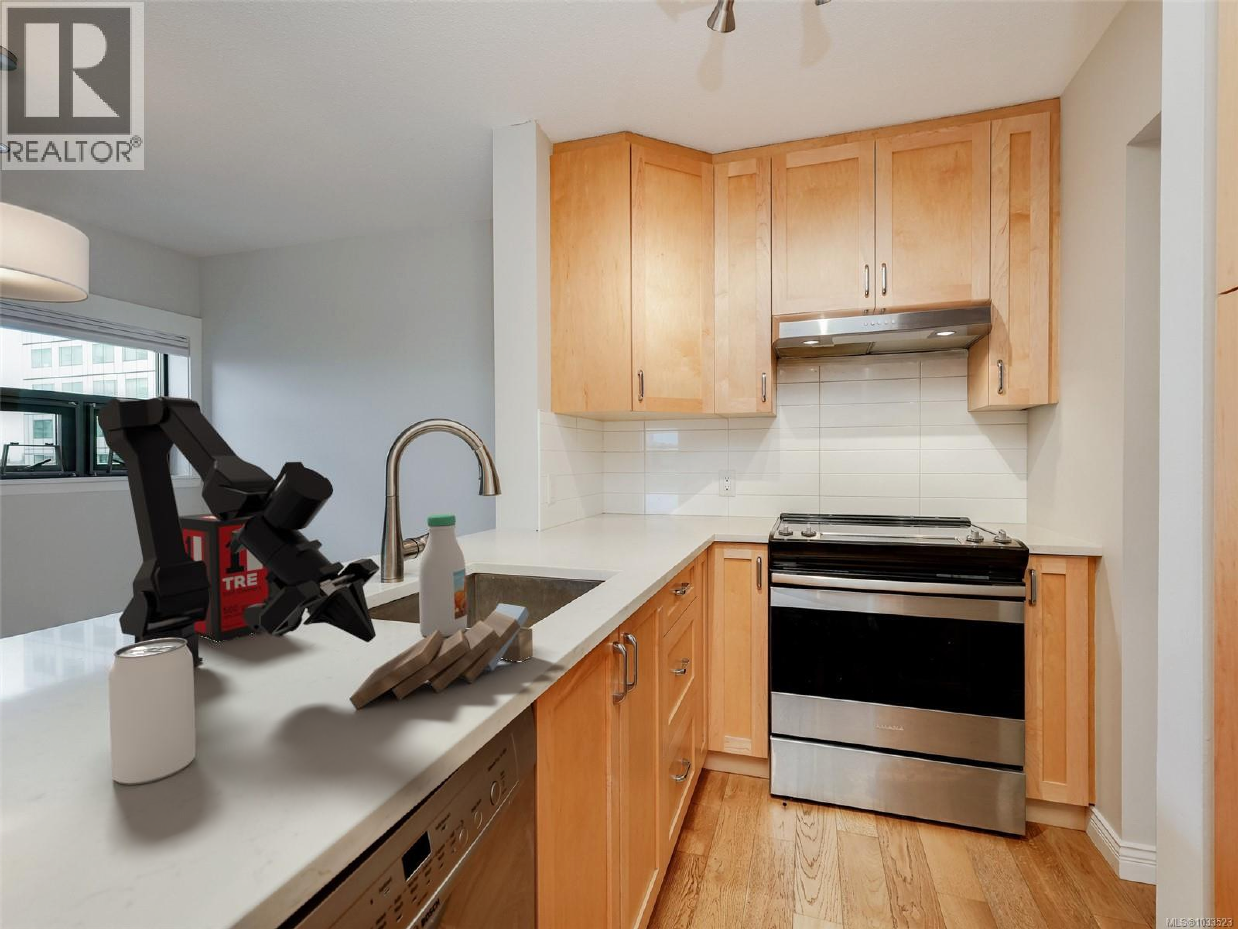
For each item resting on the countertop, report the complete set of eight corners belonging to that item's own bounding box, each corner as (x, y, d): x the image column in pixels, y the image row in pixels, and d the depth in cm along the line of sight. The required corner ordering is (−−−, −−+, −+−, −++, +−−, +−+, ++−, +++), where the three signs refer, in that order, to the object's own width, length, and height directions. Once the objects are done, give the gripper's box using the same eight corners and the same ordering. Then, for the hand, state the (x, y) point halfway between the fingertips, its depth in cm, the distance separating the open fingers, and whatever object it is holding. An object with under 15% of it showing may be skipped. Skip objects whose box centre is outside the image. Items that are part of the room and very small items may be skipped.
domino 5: (488, 663, 81) (525, 607, 88) (461, 657, 83) (499, 603, 90) (492, 670, 82) (529, 614, 88) (466, 664, 84) (503, 610, 91)
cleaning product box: (173, 628, 106) (170, 516, 106) (228, 616, 114) (225, 512, 113) (218, 642, 97) (214, 521, 97) (273, 628, 105) (270, 516, 105)
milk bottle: (441, 641, 96) (439, 518, 96) (410, 634, 100) (407, 516, 100) (476, 629, 103) (474, 514, 102) (445, 623, 107) (443, 512, 107)
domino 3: (431, 684, 75) (493, 629, 79) (420, 671, 79) (480, 620, 83) (438, 693, 75) (500, 638, 80) (427, 679, 80) (486, 628, 84)
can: (143, 753, 61) (140, 637, 61) (210, 750, 62) (206, 635, 61) (93, 789, 55) (89, 659, 54) (168, 785, 55) (164, 656, 55)
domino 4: (465, 675, 78) (515, 619, 84) (443, 664, 81) (493, 610, 87) (471, 683, 78) (520, 626, 84) (449, 672, 82) (498, 618, 88)
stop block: (519, 663, 86) (519, 634, 86) (488, 656, 89) (487, 628, 89) (532, 656, 88) (532, 628, 88) (501, 650, 91) (501, 623, 91)
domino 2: (392, 690, 73) (462, 640, 76) (394, 675, 78) (460, 629, 80) (399, 700, 73) (469, 650, 76) (401, 685, 78) (467, 638, 81)
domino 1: (349, 699, 71) (421, 652, 71) (374, 669, 80) (438, 629, 81) (356, 710, 71) (428, 663, 72) (381, 679, 80) (445, 638, 81)
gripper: (289, 581, 85) (365, 658, 85) (187, 617, 67) (283, 715, 66) (341, 526, 85) (418, 603, 84) (252, 547, 66) (350, 646, 66)
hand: (372, 639), depth 75 cm, fingers closed
